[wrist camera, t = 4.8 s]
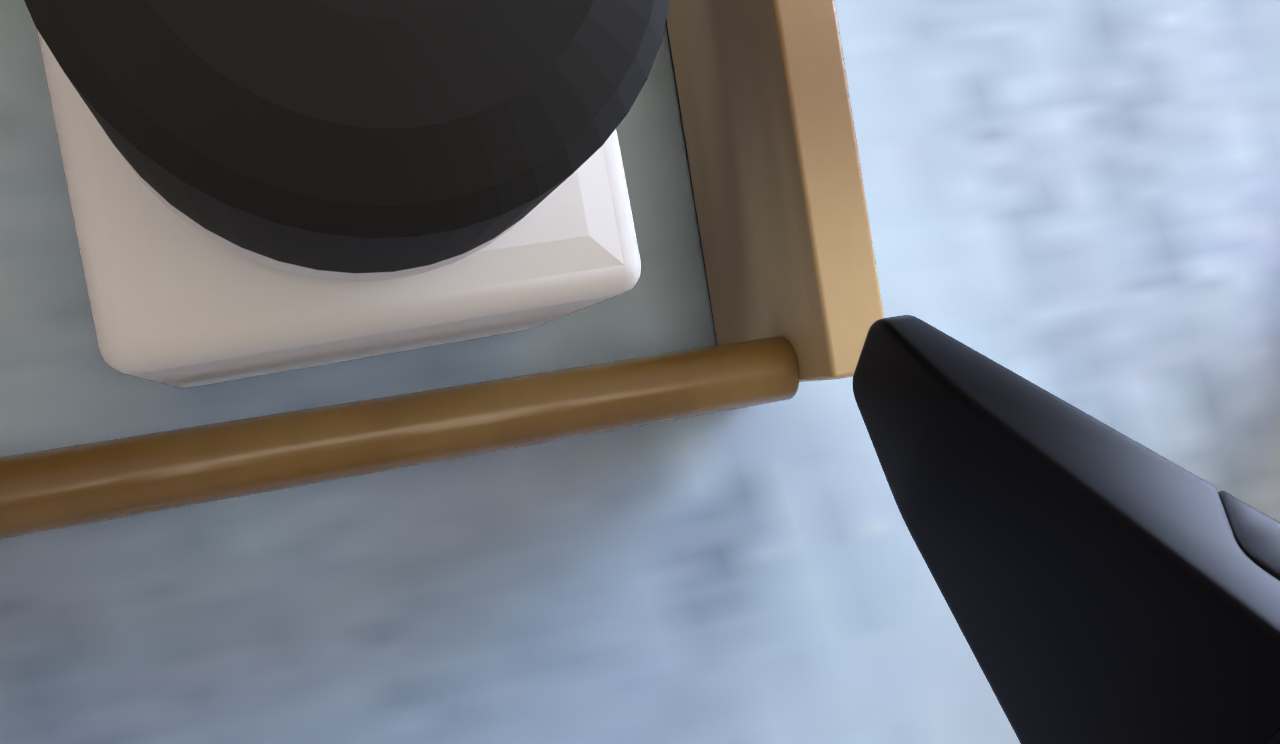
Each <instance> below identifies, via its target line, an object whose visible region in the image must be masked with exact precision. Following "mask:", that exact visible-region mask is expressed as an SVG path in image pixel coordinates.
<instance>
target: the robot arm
mask: <svg viewBox="0 0 1280 744" xmlns="http://www.w3.org/2000/svg"><path fill="white" fill-rule="evenodd" d="M853 392H854V396H855V400H856V402H857V405H858V407H859V410H860V412H861V415H862V418H863V420H864V423H865V425H866V428H867V430H868V433H869V435H870V438H871V440H872V443H873V446H874V448H875V451H876V453H877V456H878V458H879V461H880V463H881V466H882V468H883V471H884V473H885V476H886V479H887V481H888V484H889V486H890V489H891V491H892V494H893V496H894V499H895V501H896V503H897V506H898V508H899V510H900V513H901V515H902V517H903V519H904V521H905V523H906V525H907V527H908V529H909V531H910V534H911V536H912V538H913V539H914V541H915V543H916V545H917V547H918V549H919V551H920V553H921V555H922V557H923V558H924V560H925V562H926V564H927V566H928V568H929V570H930V572H931V574H932V576H933V577H934V579H935V581H936V583H937V585H938V587H939V589H940V591H941V593H942V595H943V596H944V598H945V600H946V602H947V604H948V606H949V608H950V610H951V612H952V614H953V616H954V617H955V619H956V621H957V623H958V625H959V627H960V629H961V631H962V633H963V635H964V636H965V638H966V640H967V642H968V644H969V646H970V648H971V650H972V652H973V654H974V655H975V657H976V659H977V661H978V663H979V665H980V667H981V669H982V671H983V673H984V674H985V676H986V678H987V680H988V682H989V684H990V686H991V688H992V690H993V692H994V693H995V695H996V697H997V699H998V701H999V703H1000V705H1001V707H1002V709H1003V711H1004V713H1005V714H1006V716H1007V718H1008V720H1009V722H1010V724H1011V726H1012V728H1013V730H1014V732H1015V733H1016V735H1017V737H1018V739H1019V741H1020V743H1021V744H1280V522H1278V521H1276V520H1274V519H1272V518H1271V517H1269V516H1267V515H1265V514H1263V513H1261V512H1260V511H1258V510H1256V509H1254V508H1253V507H1251V506H1249V505H1247V504H1245V503H1244V502H1242V501H1240V500H1238V499H1237V498H1235V497H1233V496H1231V495H1230V494H1228V493H1226V492H1224V491H1219V492H1218V491H1217V489H1216V487H1215V486H1213V485H1212V484H1210V483H1208V482H1206V481H1205V480H1203V479H1201V478H1199V477H1198V476H1196V475H1194V474H1192V473H1191V472H1189V471H1187V470H1185V469H1183V468H1182V467H1180V466H1178V465H1176V464H1175V463H1173V462H1171V461H1169V460H1168V459H1166V458H1164V457H1162V456H1160V455H1159V454H1157V453H1155V452H1153V451H1152V450H1150V449H1148V448H1146V447H1145V446H1143V445H1141V444H1139V443H1138V442H1136V441H1134V440H1132V439H1130V438H1129V437H1127V436H1125V435H1123V434H1122V433H1120V432H1118V431H1116V430H1115V429H1113V428H1111V427H1109V426H1107V425H1106V424H1104V423H1102V422H1100V421H1099V420H1097V419H1095V418H1093V417H1092V416H1090V415H1088V414H1086V413H1085V412H1083V411H1081V410H1079V409H1077V408H1076V407H1074V406H1072V405H1070V404H1069V403H1067V402H1065V401H1063V400H1062V399H1060V398H1058V397H1056V396H1054V395H1053V394H1051V393H1049V392H1047V391H1046V390H1044V389H1042V388H1040V387H1039V386H1037V385H1035V384H1033V383H1032V382H1030V381H1028V380H1026V379H1024V378H1023V377H1021V376H1019V375H1017V374H1016V373H1014V372H1012V371H1010V370H1009V369H1007V368H1005V367H1003V366H1001V365H1000V364H998V363H996V362H994V361H993V360H991V359H989V358H987V357H986V356H984V355H982V354H980V353H979V352H977V351H975V350H973V349H971V348H970V347H968V346H966V345H964V344H963V343H961V342H959V341H957V340H956V339H954V338H952V337H950V336H948V335H947V334H945V333H943V332H941V331H940V330H938V329H936V328H934V327H933V326H931V325H929V324H927V323H926V322H924V321H922V320H920V319H918V318H916V317H914V316H910V315H903V316H897V317H890V318H883V319H879V320H877V321H875V322H874V323H873V324H872V325H871V326H870V328H869V331H868V333H867V336H866V339H865V342H864V345H863V348H862V351H861V354H860V357H859V360H858V363H857V366H856V369H855V372H854V375H853Z"/></svg>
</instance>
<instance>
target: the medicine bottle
mask: <svg viewBox="0 0 1280 744" xmlns="http://www.w3.org/2000/svg"><path fill="white" fill-rule="evenodd" d="M24 1H25V3H26V5H27V8H28V10H29V12H30V14H31V17H32V19H33V21H34V24H35V26H36V28H37V32H38V37H39V43H40V48H41V53H42V58H43V63H44V68H45V74H46V79H47V84H48V89H49V94H50V99H51V105H52V110H53V115H54V120H55V125H56V130H57V135H58V141H59V146H60V151H61V156H62V161H63V166H64V172H65V177H66V182H67V187H68V192H69V197H70V203H71V208H72V213H73V218H74V223H75V228H76V234H77V239H78V244H79V249H80V254H81V259H82V264H83V270H84V275H85V280H86V285H87V290H88V295H89V301H90V306H91V311H92V316H93V321H94V326H95V332H96V337H97V342H98V347H99V351H100V352H101V354H102V356H103V358H104V360H105V362H106V364H108V365H109V366H111V367H112V368H114V369H116V370H117V371H119V372H120V373H124V374H128V375H132V376H136V377H140V378H144V379H148V380H152V381H156V382H160V383H165V384H169V385H173V386H177V387H188V388H190V387H196V386H201V385H207V384H213V383H219V382H225V381H231V380H236V379H242V378H248V377H254V376H260V375H266V374H271V373H277V372H283V371H289V370H295V369H301V368H306V367H312V366H318V365H324V364H330V363H336V362H341V361H347V360H353V359H359V358H365V357H371V356H376V355H382V354H388V353H394V352H400V351H406V350H411V349H417V348H423V347H429V346H435V345H441V344H446V343H452V342H458V341H464V340H470V339H476V338H482V337H487V336H493V335H499V334H505V333H511V332H517V331H522V330H528V329H531V328H534V327H536V326H539V325H541V324H544V323H547V322H549V321H552V320H554V319H557V318H560V317H562V316H565V315H567V314H570V313H573V312H575V311H578V310H580V309H583V308H586V307H588V306H591V305H594V304H596V303H599V302H601V301H604V300H607V299H609V298H612V297H614V296H617V295H620V294H622V293H624V292H626V291H628V290H630V289H632V288H633V287H634V285H635V284H636V282H637V281H638V279H639V278H640V272H641V260H640V255H639V249H638V244H637V238H636V233H635V228H634V222H633V217H632V211H631V206H630V201H629V195H628V190H627V184H626V179H625V174H624V168H623V163H622V157H621V152H620V146H619V141H618V136H617V130H616V128H617V126H618V125H619V124H620V123H621V121H622V120H623V119H624V117H625V116H626V115H627V113H628V112H629V110H630V108H631V106H632V105H633V103H634V101H635V99H636V98H637V96H638V94H639V92H640V90H641V89H642V87H643V85H644V83H645V82H646V80H647V77H648V75H649V72H650V70H651V67H652V64H653V62H654V59H655V56H656V54H657V51H658V49H659V46H660V43H661V40H662V35H663V31H664V27H665V22H666V18H667V13H668V9H669V4H670V0H24Z"/></svg>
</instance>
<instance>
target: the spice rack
mask: <svg viewBox="0 0 1280 744" xmlns="http://www.w3.org/2000/svg"><path fill="white" fill-rule="evenodd" d="M666 20H667V27H668V33H669V39H670V46H671V52H672V58H673V65H674V71H675V77H676V84H677V90H678V96H679V103H680V109H681V116H682V122H683V128H684V135H685V141H686V147H687V154H688V160H689V166H690V173H691V179H692V185H693V192H694V198H695V204H696V211H697V217H698V224H699V230H700V236H701V243H702V249H703V255H704V262H705V268H706V274H707V281H708V287H709V293H710V300H711V306H712V312H713V319H714V325H715V332H716V338H717V344H718V345H717V346H711V347H705V348H698V349H692V350H685V351H679V352H673V353H666V354H660V355H653V356H647V357H640V358H634V359H628V360H621V361H615V362H608V363H602V364H595V365H589V366H583V367H576V368H570V369H563V370H557V371H550V372H544V373H538V374H531V375H525V376H518V377H512V378H505V379H499V380H493V381H486V382H480V383H473V384H467V385H461V386H454V387H448V388H441V389H435V390H428V391H422V392H416V393H409V394H403V395H396V396H390V397H383V398H377V399H371V400H364V401H358V402H351V403H345V404H338V405H332V406H326V407H319V408H313V409H306V410H300V411H294V412H287V413H281V414H274V415H268V416H261V417H255V418H249V419H242V420H236V421H229V422H223V423H216V424H210V425H204V426H197V427H191V428H184V429H178V430H171V431H165V432H159V433H152V434H146V435H139V436H133V437H127V438H120V439H114V440H107V441H101V442H94V443H88V444H82V445H75V446H69V447H62V448H56V449H49V450H43V451H37V452H30V453H24V454H17V455H11V456H4V457H0V539H2V538H7V537H13V536H19V535H24V534H30V533H35V532H41V531H47V530H52V529H58V528H64V527H69V526H75V525H81V524H86V523H92V522H98V521H103V520H109V519H115V518H120V517H126V516H132V515H137V514H143V513H148V512H154V511H160V510H165V509H171V508H177V507H182V506H188V505H194V504H199V503H205V502H211V501H216V500H222V499H228V498H233V497H239V496H245V495H250V494H256V493H262V492H267V491H273V490H278V489H284V488H290V487H295V486H301V485H307V484H312V483H318V482H324V481H329V480H335V479H341V478H346V477H352V476H358V475H363V474H369V473H375V472H380V471H386V470H391V469H397V468H403V467H408V466H414V465H420V464H425V463H431V462H437V461H442V460H448V459H454V458H459V457H465V456H471V455H476V454H482V453H488V452H493V451H499V450H505V449H510V448H516V447H521V446H527V445H533V444H538V443H544V442H550V441H555V440H561V439H567V438H572V437H578V436H584V435H589V434H595V433H601V432H606V431H612V430H618V429H623V428H629V427H634V426H640V425H646V424H651V423H657V422H663V421H668V420H674V419H680V418H685V417H691V416H697V415H702V414H708V413H714V412H719V411H725V410H731V409H736V408H742V407H748V406H753V405H759V404H764V403H770V402H776V401H781V400H787V399H791V398H792V397H793V396H794V395H795V394H796V392H797V389H798V386H799V382H804V381H818V380H831V379H840V378H846V377H851V376H853V375H854V372H855V369H856V366H857V363H858V360H859V357H860V354H861V351H862V348H863V345H864V342H865V339H866V336H867V333H868V331H869V328H870V326H871V325H872V324H873V323H874V322H875V321H877V320H879V319H883V318H884V314H883V308H882V302H881V295H880V289H879V282H878V276H877V270H876V263H875V257H874V250H873V244H872V238H871V231H870V225H869V218H868V212H867V206H866V199H865V193H864V186H863V180H862V174H861V167H860V161H859V154H858V148H857V142H856V135H855V129H854V122H853V116H852V110H851V103H850V97H849V90H848V84H847V78H846V71H845V65H844V58H843V52H842V46H841V39H840V33H839V26H838V20H837V14H836V7H835V1H834V0H670V4H669V9H668V13H667V18H666Z"/></svg>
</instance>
